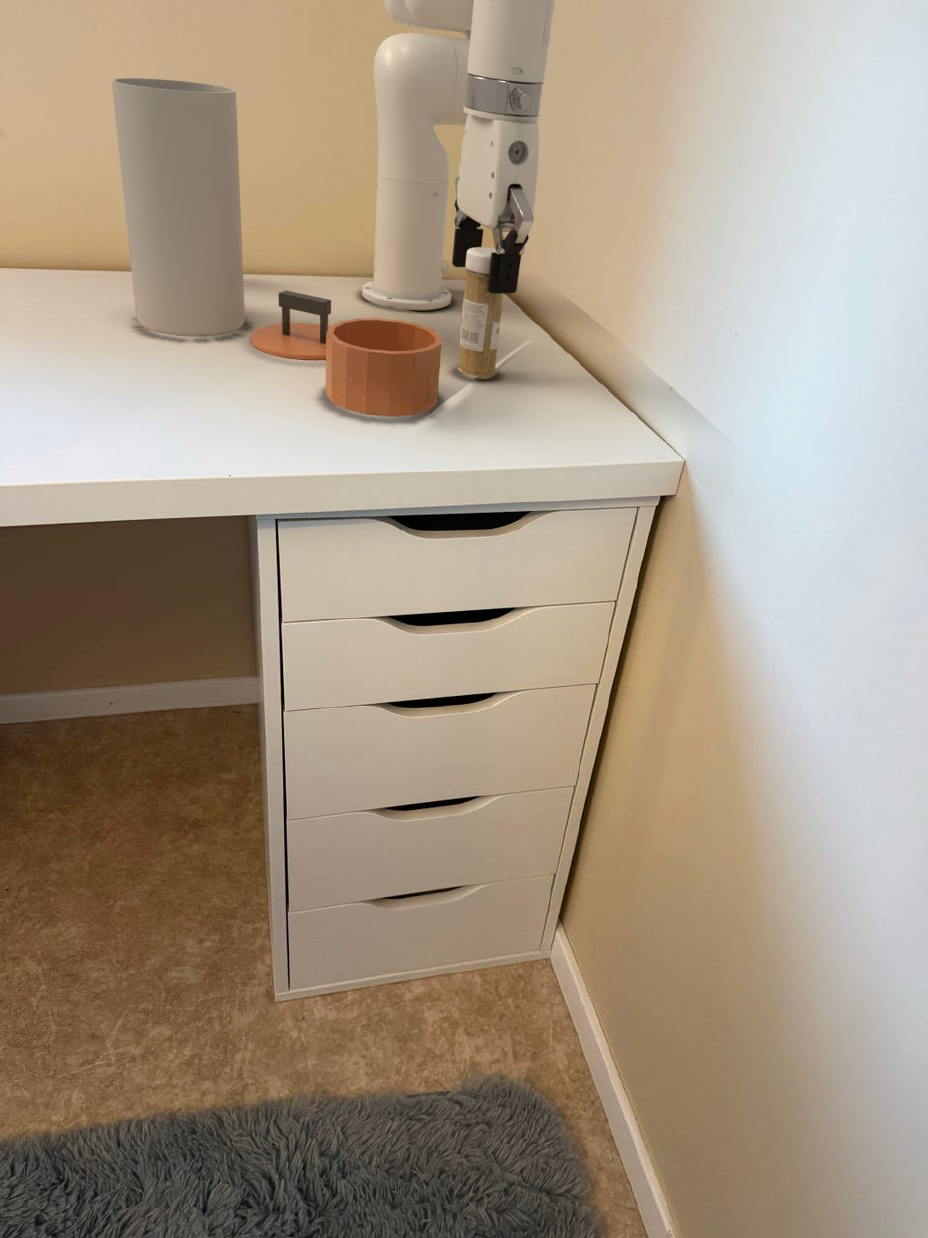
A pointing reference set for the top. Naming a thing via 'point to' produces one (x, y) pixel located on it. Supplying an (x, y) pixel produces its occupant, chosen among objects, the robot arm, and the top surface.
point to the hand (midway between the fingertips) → (482, 278)
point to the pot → (382, 366)
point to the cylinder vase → (182, 203)
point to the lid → (296, 329)
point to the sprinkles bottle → (479, 318)
